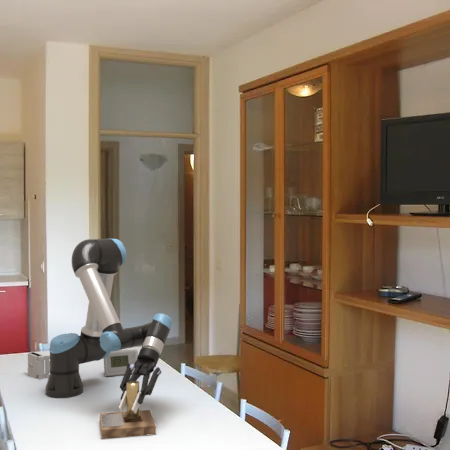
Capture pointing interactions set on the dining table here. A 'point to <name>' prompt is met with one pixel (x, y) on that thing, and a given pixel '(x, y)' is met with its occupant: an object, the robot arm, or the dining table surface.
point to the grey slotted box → (38, 365)
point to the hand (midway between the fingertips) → (127, 410)
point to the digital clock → (119, 362)
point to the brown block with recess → (126, 424)
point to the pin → (131, 399)
